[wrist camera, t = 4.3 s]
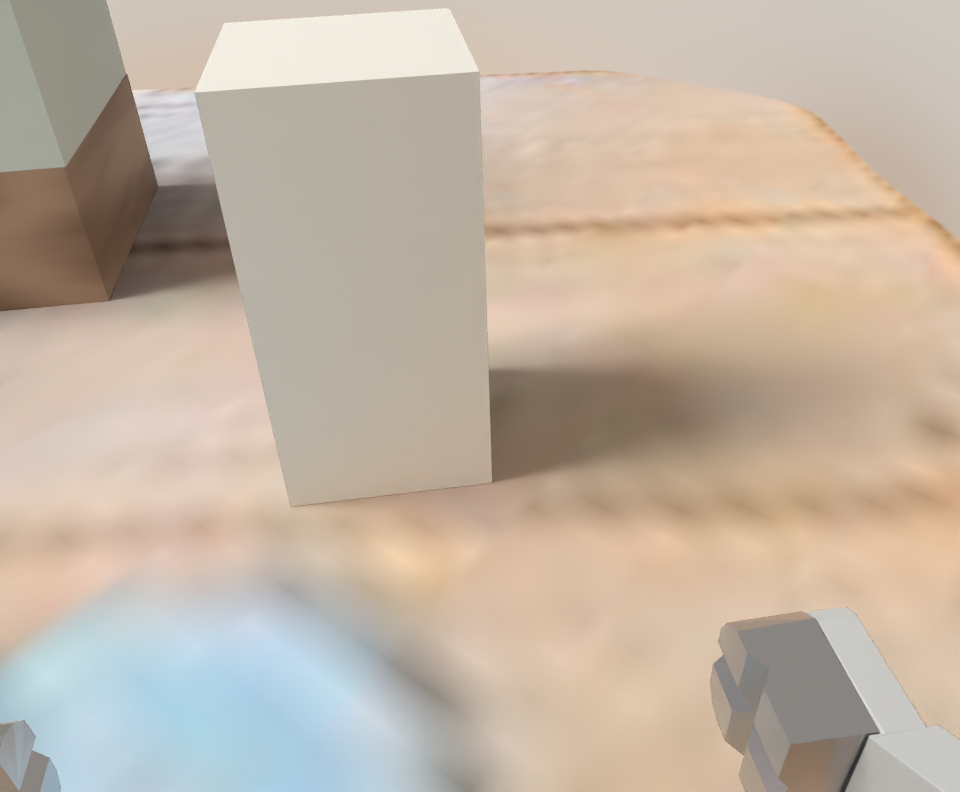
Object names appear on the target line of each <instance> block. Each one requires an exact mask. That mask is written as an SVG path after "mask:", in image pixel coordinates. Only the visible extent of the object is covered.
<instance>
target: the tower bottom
mask: <svg viewBox="0 0 960 792" xmlns="http://www.w3.org/2000/svg"><path fill="white" fill-rule="evenodd" d="M157 187H158V185H157V181H156V177H155V174H154V170H153V166H152V163H151V159H150V155H149V152H148V148H147V144H146V141H145V137H144V133H143V130H142V126H141V123H140V119H139V115H138V112H137V108H136V104H135V101H134V97H133V93H132V90H131V86H130V82H129V79H128V75H127V74H126V75H125V77H124V78H123V80H122V81H121V83H120V85H119V86H118V88H117V89H116V91H115V92H114V94H113V95H112V97H111V98H110V100H109V101H108V103H107V104H106V106H105V107H104V109H103V110H102V112H101V114H100V115H99V117H98V118H97V120H96V121H95V123H94V124H93V126H92V127H91V129H90V130H89V132H88V133H87V135H86V137H85V138H84V140H83V141H82V143H81V144H80V146H79V147H78V149H77V150H76V152H75V153H74V155H73V156H72V158H71V159H70V161H69V163H68V164H67V166H66V167H58V168H46V169H34V170H22V171H10V172H0V311H7V310H17V309H28V308H39V307H49V306H60V305H71V304H82V303H92V302H103V301H109V300H110V298H111V295H112V293H113V291H114V288H115V286H116V284H117V281H118V279H119V277H120V274H121V272H122V269H123V267H124V265H125V262H126V260H127V258H128V255H129V253H130V251H131V248H132V246H133V244H134V241H135V239H136V237H137V234H138V232H139V230H140V227H141V225H142V223H143V220H144V218H145V215H146V213H147V211H148V208H149V206H150V204H151V201H152V199H153V197H154V194H155V192H156V190H157Z"/></svg>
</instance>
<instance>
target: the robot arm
mask: <svg viewBox="0 0 960 792" xmlns="http://www.w3.org/2000/svg"><path fill="white" fill-rule="evenodd" d="M718 643H719V645H720V647H721V650H722V652H723V654H724V655H723V656H722V657H721V658H719V659H718V660H717V661H716V662H715V663H714V664H713V668H712V673H711V679H710V685H711V695H712V704H713V708H714V711H715V715H716V719H717V722H718V724H719V727H720V730H721V732H722V735H723V737H724V740H725V741H726V742H727V743H728V744H730V745H731V746H732V747H734V748H735V749H736V750H737V751H739V752H740V753H741V754H742V755H744V758H743V762H742V765H741V769H740V773H739V777H740V780H741V782H742V785H743V787H744V790H745V792H960V739H958V738H957V737H956V736H954V735H953V734H951V733H950V732H948V731H947V730H945V729H944V728H942V727H941V726H939V725H936V726H926V725H925V723H924V722H923V720H922V718H921V717H920V715H919V714H918V712H917V710H916V709H915V707H914V706H913V704H912V702H911V701H910V699H909V698H908V696H907V694H906V693H905V691H904V690H903V688H902V686H901V685H900V683H899V682H898V680H897V678H896V677H895V675H894V674H893V672H892V671H891V669H890V667H889V666H888V664H887V663H886V661H885V659H884V658H883V656H882V655H881V653H880V651H879V650H878V648H877V647H876V645H875V643H874V642H873V640H872V639H871V637H870V635H869V634H868V632H867V631H866V629H865V627H864V626H863V624H862V623H861V621H860V620H859V618H858V616H857V615H856V614H855V613H854V612H853V611H852V610H850V609H849V608H848V607H835V608H829V609H823V610H816V611H810V612H802V611H801V612H794V613H788V614H781V615H775V616H768V617H762V618H755V619H749V620H743V621H736V622H730V623H726V624H725V625H724V626H723V627H722V628H721V632H720V636H719V640H718ZM35 738H36V736H35V734H34V733H33V731H32V730H31V729H30V727H29V726H28V725H27V723H26V722H25V720H22V721H14V722H6V723H0V792H61V786H60V782H59V778H58V773H57V770H56V768H55V766H54V765H53V763H52V761H51V760H50V758H49V757H46V756H44V755H42V754H39V753H37V752H35V751H32V748H33V745H34V741H35Z"/></svg>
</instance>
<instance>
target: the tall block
mask: <svg viewBox="0 0 960 792" xmlns="http://www.w3.org/2000/svg"><path fill="white" fill-rule="evenodd" d="M194 93H195V97H196V102H197V106H198V110H199V115H200V119H201V123H202V128H203V132H204V136H205V140H206V145H207V149H208V153H209V158H210V162H211V166H212V171H213V175H214V179H215V184H216V188H217V192H218V197H219V201H220V205H221V209H222V214H223V218H224V222H225V227H226V231H227V235H228V240H229V244H230V248H231V253H232V257H233V261H234V266H235V270H236V274H237V279H238V283H239V287H240V291H241V296H242V300H243V304H244V309H245V313H246V317H247V322H248V326H249V330H250V335H251V339H252V343H253V348H254V352H255V356H256V360H257V365H258V369H259V373H260V378H261V382H262V386H263V391H264V395H265V399H266V404H267V408H268V412H269V417H270V421H271V425H272V430H273V434H274V438H275V442H276V447H277V451H278V455H279V460H280V464H281V468H282V473H283V477H284V481H285V486H286V490H287V494H288V499H289V503H290V507H293V506H301V505H309V504H318V503H326V502H335V501H343V500H352V499H360V498H369V497H377V496H385V495H394V494H402V493H411V492H419V491H428V490H436V489H445V488H453V487H461V486H470V485H478V484H487V483H492V461H491V429H490V397H489V365H488V333H487V301H486V269H485V236H484V204H483V172H482V140H481V108H480V76H479V70H478V68H477V66H476V64H475V61H474V59H473V57H472V55H471V53H470V51H469V49H468V47H467V45H466V43H465V41H464V38H463V36H462V34H461V32H460V30H459V28H458V26H457V24H456V22H455V20H454V17H453V15H452V13H451V11H450V9H449V8H444V9H431V10H430V9H429V10H415V11H399V12H384V13H369V14H354V15H341V16H340V15H339V16H325V17H309V18H294V19H279V20H264V21H248V22H234V23H224V25H223V27H222V29H221V32H220V34H219V37H218V39H217V41H216V43H215V46H214V48H213V50H212V53H211V55H210V57H209V60H208V62H207V64H206V67H205V69H204V71H203V74H202V76H201V78H200V81H199V83H198V85H197V88H196V90H195V92H194Z"/></svg>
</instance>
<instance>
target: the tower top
mask: <svg viewBox="0 0 960 792" xmlns="http://www.w3.org/2000/svg"><path fill="white" fill-rule="evenodd" d="M125 75H126V72H125V68H124V65H123V61H122V57H121V53H120V50H119V46H118V42H117V39H116V35H115V32H114V28H113V24H112V20H111V17H110V13H109V10H108V6H107V2H106V0H0V172H10V171H22V170H34V169H46V168H58V167H66V166H67V164H68V163H69V161H70V159H71V158H72V156H73V155H74V153H75V152H76V150H77V149H78V147H79V146H80V144H81V143H82V141H83V140H84V138H85V137H86V135H87V133H88V132H89V130H90V129H91V127H92V126H93V124H94V123H95V121H96V120H97V118H98V117H99V115H100V114H101V112H102V110H103V109H104V107H105V106H106V104H107V103H108V101H109V100H110V98H111V97H112V95H113V94H114V92H115V91H116V89H117V88H118V86H119V85H120V83H121V81H122V80H123V78H124V77H125Z"/></svg>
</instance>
